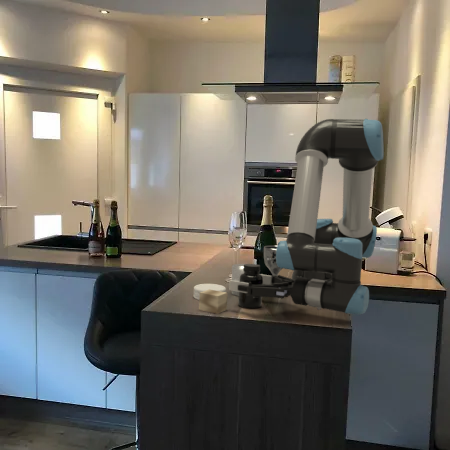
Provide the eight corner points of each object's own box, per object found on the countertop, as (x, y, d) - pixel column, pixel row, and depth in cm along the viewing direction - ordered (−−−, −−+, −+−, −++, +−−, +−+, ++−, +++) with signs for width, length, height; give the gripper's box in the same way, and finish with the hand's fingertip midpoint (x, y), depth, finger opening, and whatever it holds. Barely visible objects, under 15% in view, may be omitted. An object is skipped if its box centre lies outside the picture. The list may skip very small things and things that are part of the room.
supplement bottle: (259, 309, 139) (262, 268, 138) (236, 307, 140) (238, 266, 139) (262, 303, 146) (264, 264, 145) (240, 301, 147) (242, 262, 146)
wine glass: (282, 290, 165) (284, 245, 163) (289, 295, 157) (291, 249, 156) (259, 290, 164) (261, 245, 162) (265, 295, 156) (267, 249, 154)
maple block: (226, 310, 138) (227, 292, 137) (217, 314, 134) (218, 296, 133) (208, 306, 141) (209, 289, 140) (199, 310, 137) (199, 292, 136)
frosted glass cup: (252, 291, 161) (253, 264, 160) (254, 296, 154) (254, 267, 153) (231, 291, 161) (231, 263, 160) (232, 295, 154) (232, 267, 153)
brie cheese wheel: (188, 295, 154) (189, 284, 153) (217, 293, 158) (218, 282, 157) (200, 303, 145) (200, 291, 144) (231, 301, 149) (231, 289, 148)
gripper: (290, 315, 123) (218, 302, 134) (324, 297, 145) (259, 286, 155) (292, 286, 122) (219, 274, 133) (325, 271, 144) (260, 262, 154)
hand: (241, 281), depth 144 cm, fingers open, 13 cm apart
